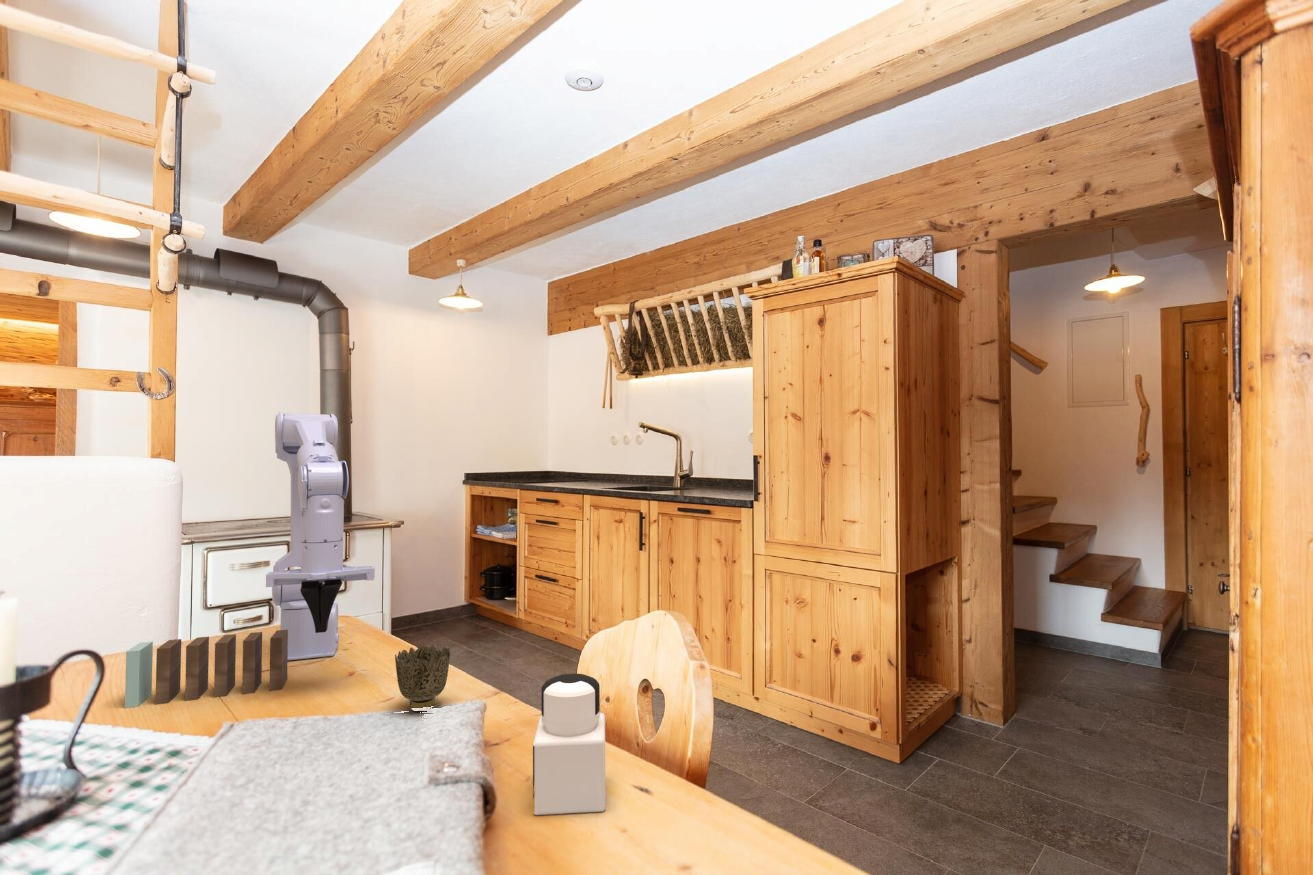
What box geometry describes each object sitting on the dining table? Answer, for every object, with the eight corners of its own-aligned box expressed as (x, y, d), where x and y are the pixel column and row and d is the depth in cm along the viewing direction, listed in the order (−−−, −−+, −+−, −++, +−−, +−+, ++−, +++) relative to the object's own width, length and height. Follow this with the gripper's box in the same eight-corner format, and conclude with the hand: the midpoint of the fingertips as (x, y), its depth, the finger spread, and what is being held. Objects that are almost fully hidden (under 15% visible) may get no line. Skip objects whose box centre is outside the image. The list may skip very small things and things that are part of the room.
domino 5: (261, 682, 102) (262, 631, 102) (254, 692, 97) (255, 639, 97) (249, 683, 101) (250, 632, 101) (242, 694, 96) (243, 640, 97)
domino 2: (180, 691, 98) (181, 638, 98) (168, 703, 93) (169, 647, 93) (167, 692, 97) (168, 639, 98) (155, 704, 93) (156, 648, 93)
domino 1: (151, 694, 97) (152, 641, 97) (138, 706, 92) (139, 650, 92) (138, 696, 96) (139, 642, 96) (124, 708, 91) (126, 651, 92)
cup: (382, 714, 88) (382, 656, 88) (419, 696, 95) (419, 642, 95) (426, 722, 85) (426, 661, 86) (461, 702, 92) (461, 646, 93)
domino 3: (208, 688, 99) (209, 636, 99) (198, 699, 94) (199, 644, 95) (195, 689, 99) (196, 637, 99) (185, 701, 94) (186, 646, 94)
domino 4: (235, 685, 100) (236, 634, 101) (226, 696, 96) (227, 642, 96) (223, 686, 100) (224, 635, 100) (214, 697, 95) (214, 643, 95)
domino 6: (287, 679, 103) (287, 629, 103) (281, 689, 98) (282, 637, 99) (275, 680, 102) (276, 630, 103) (269, 691, 98) (270, 638, 98)
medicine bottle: (539, 780, 70) (539, 669, 70) (605, 777, 70) (604, 666, 71) (532, 816, 62) (532, 692, 63) (605, 812, 63) (604, 689, 64)
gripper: (261, 546, 91) (260, 642, 90) (372, 541, 96) (372, 632, 95) (272, 540, 97) (270, 630, 97) (375, 536, 103) (374, 621, 102)
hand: (321, 630), depth 97 cm, fingers closed
